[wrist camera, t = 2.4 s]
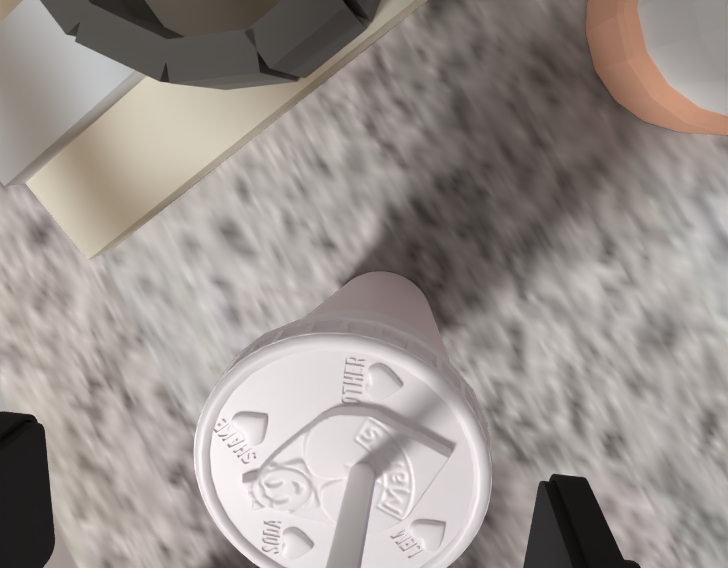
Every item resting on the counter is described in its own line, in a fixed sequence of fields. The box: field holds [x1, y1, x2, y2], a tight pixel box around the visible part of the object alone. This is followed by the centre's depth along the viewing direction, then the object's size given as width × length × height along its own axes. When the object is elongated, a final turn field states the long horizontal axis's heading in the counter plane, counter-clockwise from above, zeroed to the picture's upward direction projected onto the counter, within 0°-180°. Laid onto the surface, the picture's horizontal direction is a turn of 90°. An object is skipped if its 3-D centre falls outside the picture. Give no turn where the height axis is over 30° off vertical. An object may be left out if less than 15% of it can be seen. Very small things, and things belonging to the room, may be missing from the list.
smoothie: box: [194, 271, 492, 568], centre depth 15 cm, size 6×6×14 cm
